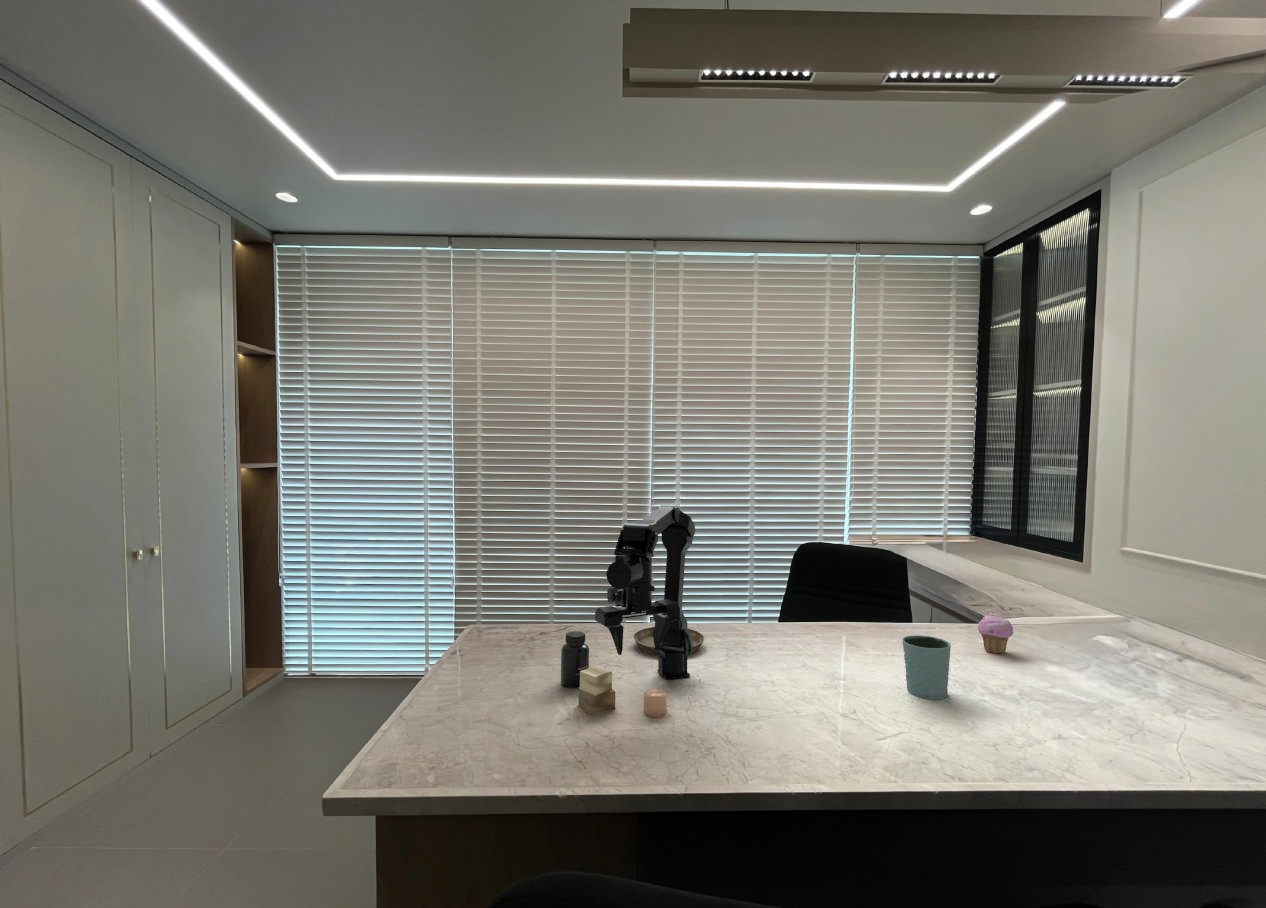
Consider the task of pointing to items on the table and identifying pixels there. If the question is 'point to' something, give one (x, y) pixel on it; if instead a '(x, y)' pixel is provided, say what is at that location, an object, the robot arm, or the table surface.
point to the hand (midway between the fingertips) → (638, 651)
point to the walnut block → (597, 701)
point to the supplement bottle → (574, 658)
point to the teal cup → (927, 666)
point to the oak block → (595, 680)
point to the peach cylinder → (655, 703)
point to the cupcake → (995, 633)
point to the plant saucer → (647, 642)
